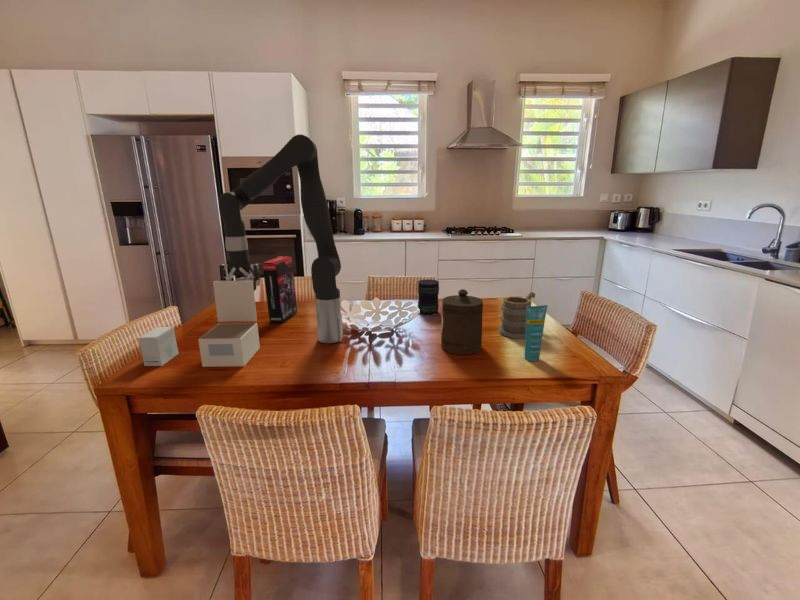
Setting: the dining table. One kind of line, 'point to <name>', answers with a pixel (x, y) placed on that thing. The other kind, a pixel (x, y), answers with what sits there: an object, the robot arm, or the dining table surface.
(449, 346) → the wooden container
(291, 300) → the graphics card box
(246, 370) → the dining table surface
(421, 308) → the storage jar
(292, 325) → the dining table surface
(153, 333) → the skincare box
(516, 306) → the tankard
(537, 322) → the tube
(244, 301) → the flap
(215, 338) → the carton
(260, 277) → the robot arm
